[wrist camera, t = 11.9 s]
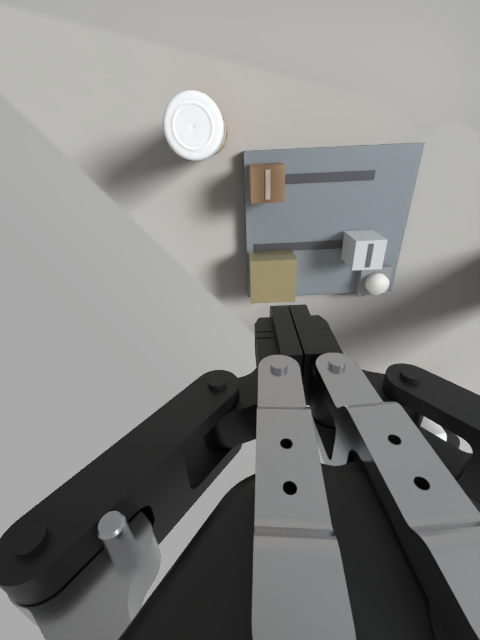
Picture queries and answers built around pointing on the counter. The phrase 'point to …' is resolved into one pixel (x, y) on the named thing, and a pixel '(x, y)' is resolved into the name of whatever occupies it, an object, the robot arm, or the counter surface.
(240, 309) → the counter surface
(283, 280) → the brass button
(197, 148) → the sprinkles bottle
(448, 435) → the medicine bottle
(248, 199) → the board
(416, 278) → the counter surface
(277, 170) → the walnut fader
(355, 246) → the grey fader
